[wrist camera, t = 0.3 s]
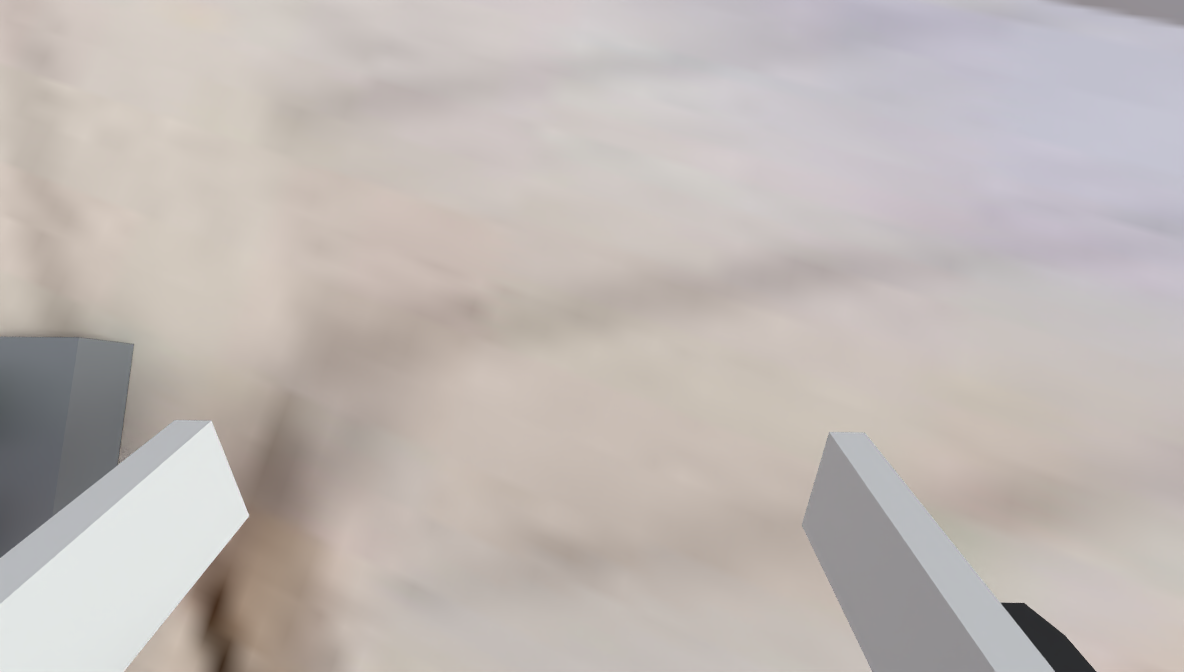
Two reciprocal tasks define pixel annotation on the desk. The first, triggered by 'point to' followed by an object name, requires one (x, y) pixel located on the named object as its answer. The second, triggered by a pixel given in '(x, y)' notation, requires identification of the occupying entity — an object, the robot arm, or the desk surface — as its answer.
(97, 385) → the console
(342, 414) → the desk surface
